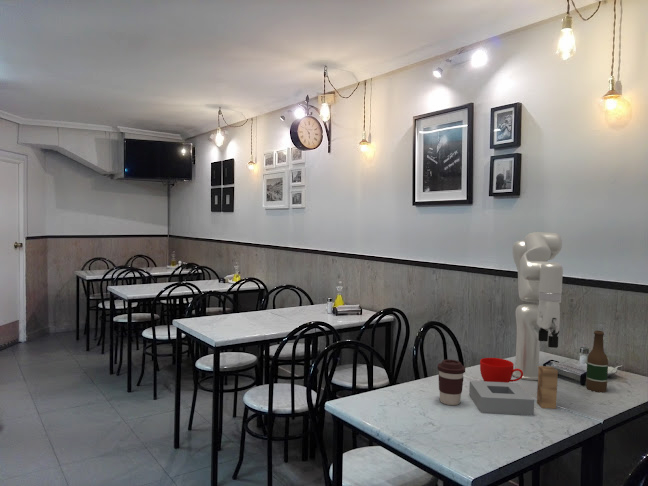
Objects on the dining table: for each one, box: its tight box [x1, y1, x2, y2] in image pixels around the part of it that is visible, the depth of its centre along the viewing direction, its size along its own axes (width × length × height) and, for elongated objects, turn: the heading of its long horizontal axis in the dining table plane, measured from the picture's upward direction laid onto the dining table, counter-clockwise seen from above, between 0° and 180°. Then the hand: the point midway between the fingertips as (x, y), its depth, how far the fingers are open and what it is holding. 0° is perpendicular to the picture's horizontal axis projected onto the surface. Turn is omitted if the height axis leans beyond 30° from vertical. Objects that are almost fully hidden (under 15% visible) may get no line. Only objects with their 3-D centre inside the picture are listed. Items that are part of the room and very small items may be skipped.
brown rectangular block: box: [536, 365, 559, 410], centre depth 181 cm, size 5×5×14 cm
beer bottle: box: [585, 330, 609, 393], centre depth 201 cm, size 8×8×24 cm
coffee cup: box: [436, 359, 466, 406], centre depth 182 cm, size 10×10×15 cm
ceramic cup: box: [479, 357, 523, 383], centre depth 201 cm, size 13×17×10 cm
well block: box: [468, 380, 535, 416], centre depth 181 cm, size 18×18×6 cm
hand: (547, 344), depth 180 cm, fingers open, 9 cm apart
